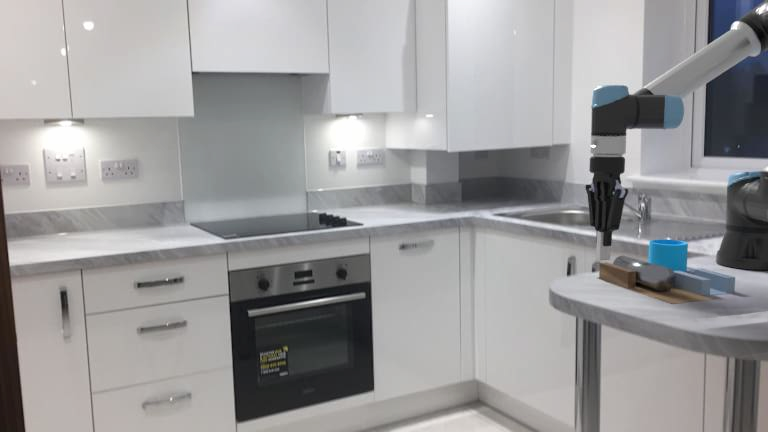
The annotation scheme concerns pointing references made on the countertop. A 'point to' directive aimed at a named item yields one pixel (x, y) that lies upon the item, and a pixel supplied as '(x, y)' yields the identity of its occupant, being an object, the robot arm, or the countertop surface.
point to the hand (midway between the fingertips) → (603, 259)
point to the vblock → (705, 282)
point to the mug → (669, 254)
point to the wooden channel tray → (628, 280)
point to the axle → (648, 273)
